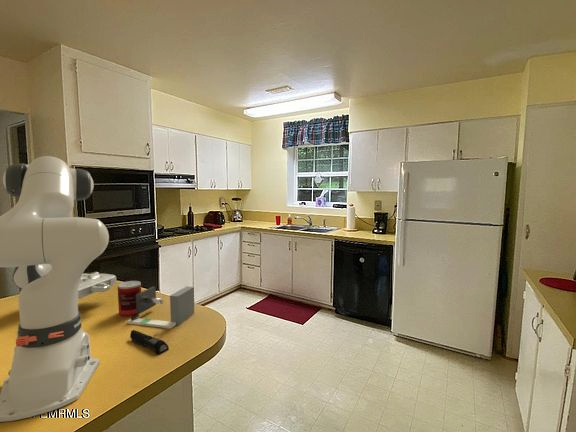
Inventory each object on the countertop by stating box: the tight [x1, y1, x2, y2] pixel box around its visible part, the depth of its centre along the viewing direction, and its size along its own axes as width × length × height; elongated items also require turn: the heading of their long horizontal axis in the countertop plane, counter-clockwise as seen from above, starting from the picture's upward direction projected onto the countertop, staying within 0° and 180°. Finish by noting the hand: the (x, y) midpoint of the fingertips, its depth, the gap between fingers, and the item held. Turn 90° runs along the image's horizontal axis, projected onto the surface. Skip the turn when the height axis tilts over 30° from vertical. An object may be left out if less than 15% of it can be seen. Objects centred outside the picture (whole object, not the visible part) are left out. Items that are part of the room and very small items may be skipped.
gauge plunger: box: [130, 286, 164, 320], centre depth 105 cm, size 7×12×8 cm, turn 167°
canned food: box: [117, 280, 142, 317], centre depth 109 cm, size 8×8×11 cm
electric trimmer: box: [129, 329, 170, 355], centre depth 87 cm, size 4×16×3 cm, turn 58°
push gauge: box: [126, 286, 195, 329], centre depth 104 cm, size 18×13×10 cm
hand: (107, 288), depth 111 cm, fingers closed
